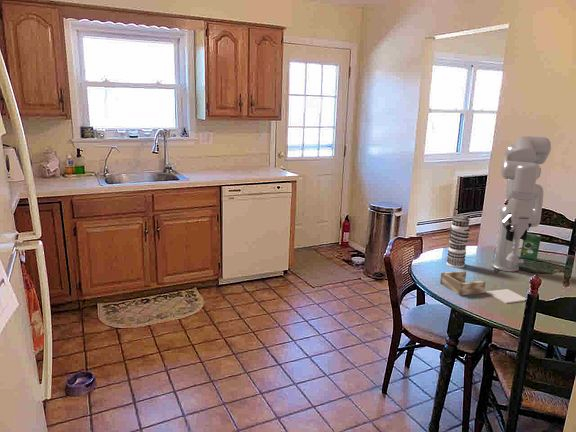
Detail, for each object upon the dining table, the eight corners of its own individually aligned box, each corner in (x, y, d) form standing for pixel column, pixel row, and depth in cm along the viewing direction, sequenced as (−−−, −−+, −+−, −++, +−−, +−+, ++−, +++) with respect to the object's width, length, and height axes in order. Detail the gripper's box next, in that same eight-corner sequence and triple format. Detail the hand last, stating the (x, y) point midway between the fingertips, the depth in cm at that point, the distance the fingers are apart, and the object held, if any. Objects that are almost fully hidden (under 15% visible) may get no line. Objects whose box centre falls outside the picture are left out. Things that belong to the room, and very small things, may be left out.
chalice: (499, 256, 186) (506, 214, 182) (515, 256, 187) (522, 214, 182) (509, 262, 179) (516, 219, 175) (525, 262, 180) (533, 219, 175)
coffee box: (537, 258, 236) (541, 234, 233) (537, 260, 234) (541, 236, 231) (520, 255, 240) (524, 232, 237) (519, 257, 238) (523, 233, 235)
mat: (507, 290, 194) (507, 288, 193) (527, 300, 183) (527, 299, 183) (486, 292, 190) (486, 291, 190) (505, 303, 180) (506, 302, 180)
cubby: (463, 280, 203) (464, 270, 201) (484, 292, 190) (485, 281, 189) (440, 283, 199) (441, 272, 198) (459, 295, 187) (461, 284, 185)
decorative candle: (460, 261, 228) (466, 214, 222) (468, 268, 219) (474, 218, 213) (442, 261, 228) (448, 213, 222) (449, 267, 219) (455, 218, 213)
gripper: (532, 193, 183) (525, 236, 187) (497, 194, 177) (491, 238, 182) (547, 197, 176) (540, 241, 180) (512, 198, 171) (505, 244, 175)
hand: (515, 239), depth 181 cm, fingers closed on chalice, 5 cm apart
